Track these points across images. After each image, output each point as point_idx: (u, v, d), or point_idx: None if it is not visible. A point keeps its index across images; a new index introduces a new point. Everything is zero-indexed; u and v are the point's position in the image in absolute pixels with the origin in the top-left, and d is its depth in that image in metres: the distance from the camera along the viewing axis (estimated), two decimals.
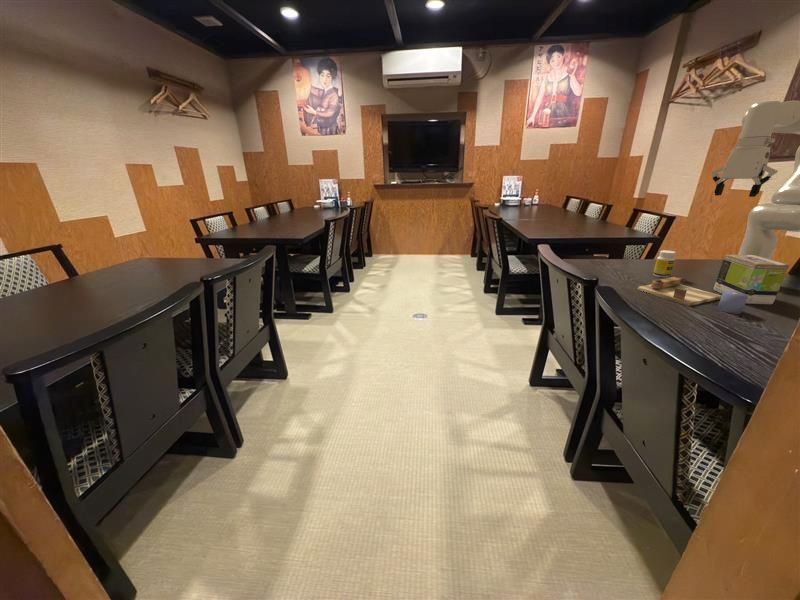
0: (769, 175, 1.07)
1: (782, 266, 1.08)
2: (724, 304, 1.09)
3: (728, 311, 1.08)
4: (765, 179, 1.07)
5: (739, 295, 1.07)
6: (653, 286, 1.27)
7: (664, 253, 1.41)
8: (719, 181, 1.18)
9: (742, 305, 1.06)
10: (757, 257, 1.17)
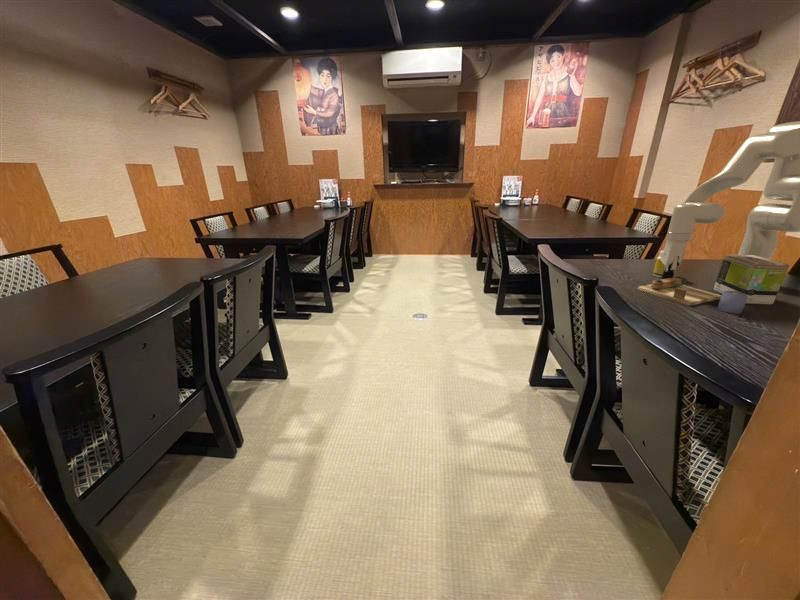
0: None
1: (782, 266, 1.08)
2: (724, 304, 1.09)
3: (728, 311, 1.08)
4: None
5: (739, 295, 1.07)
6: (653, 286, 1.27)
7: None
8: None
9: (742, 305, 1.06)
10: (757, 257, 1.17)
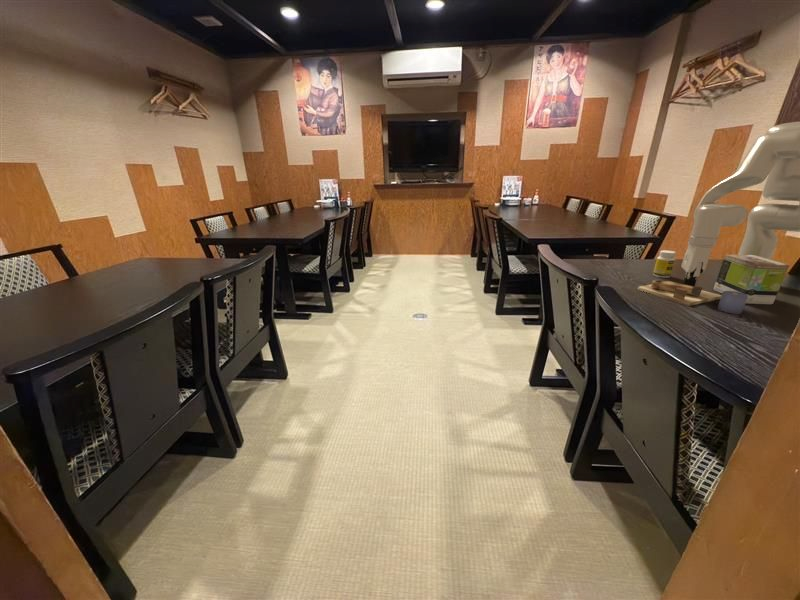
0: None
1: (782, 266, 1.08)
2: (724, 304, 1.09)
3: (728, 311, 1.08)
4: None
5: (739, 295, 1.07)
6: None
7: (664, 253, 1.41)
8: None
9: (742, 305, 1.06)
10: (757, 257, 1.17)
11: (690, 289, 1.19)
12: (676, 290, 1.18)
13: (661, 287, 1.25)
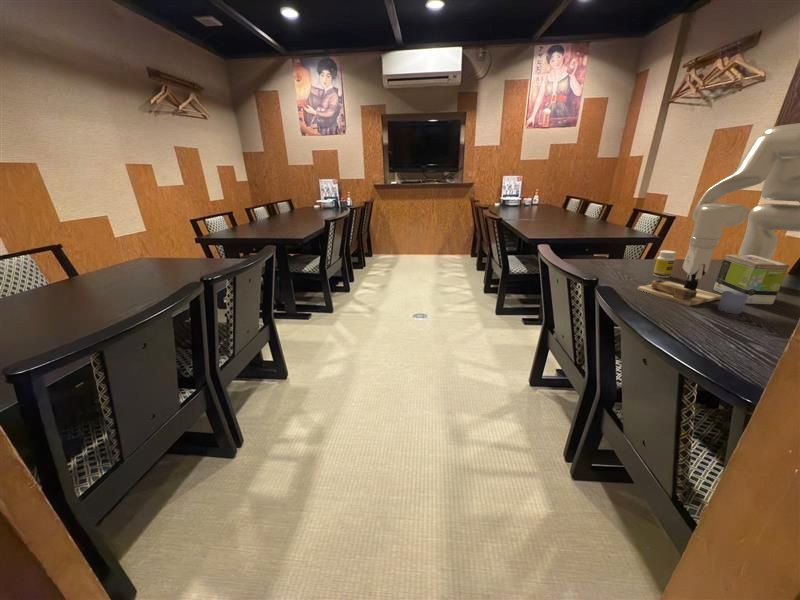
0: None
1: (782, 266, 1.08)
2: (724, 304, 1.09)
3: (728, 311, 1.08)
4: None
5: (739, 295, 1.07)
6: None
7: (664, 253, 1.41)
8: None
9: (742, 305, 1.06)
10: (757, 257, 1.17)
11: None
12: (676, 290, 1.18)
13: (658, 287, 1.26)
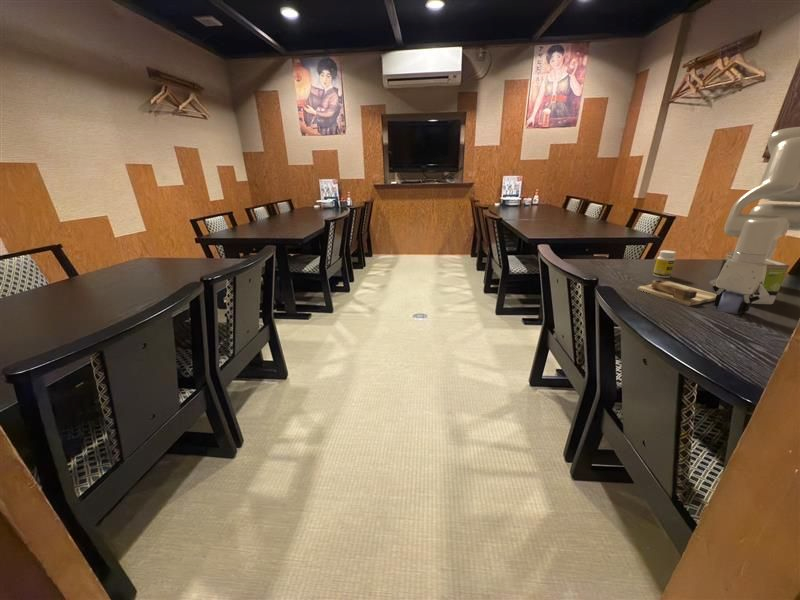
0: None
1: (782, 266, 1.08)
2: (724, 304, 1.09)
3: (728, 311, 1.08)
4: None
5: (739, 295, 1.07)
6: None
7: (664, 253, 1.41)
8: None
9: None
10: None
11: None
12: (676, 290, 1.18)
13: (658, 287, 1.26)
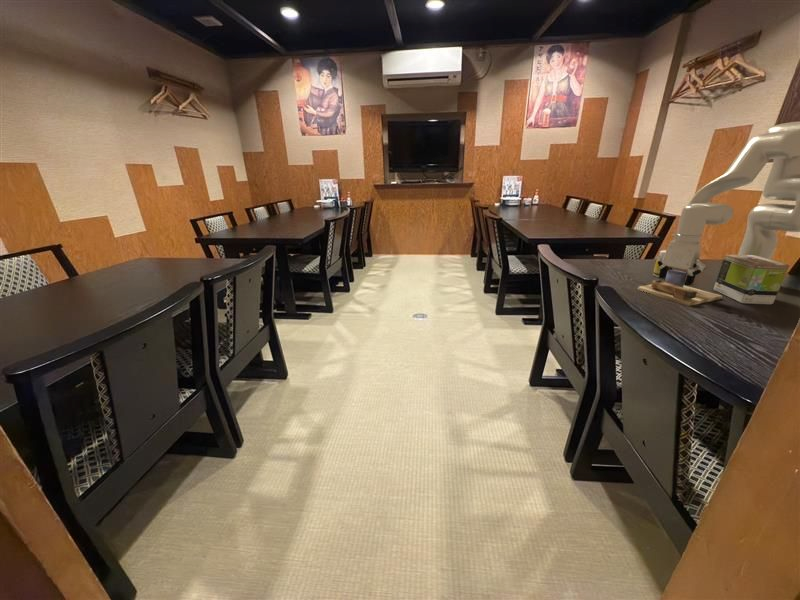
0: None
1: (782, 266, 1.08)
2: (668, 281, 1.28)
3: None
4: None
5: (680, 273, 1.26)
6: None
7: (664, 253, 1.41)
8: None
9: (682, 281, 1.25)
10: (757, 257, 1.17)
11: None
12: (676, 290, 1.18)
13: (658, 287, 1.26)
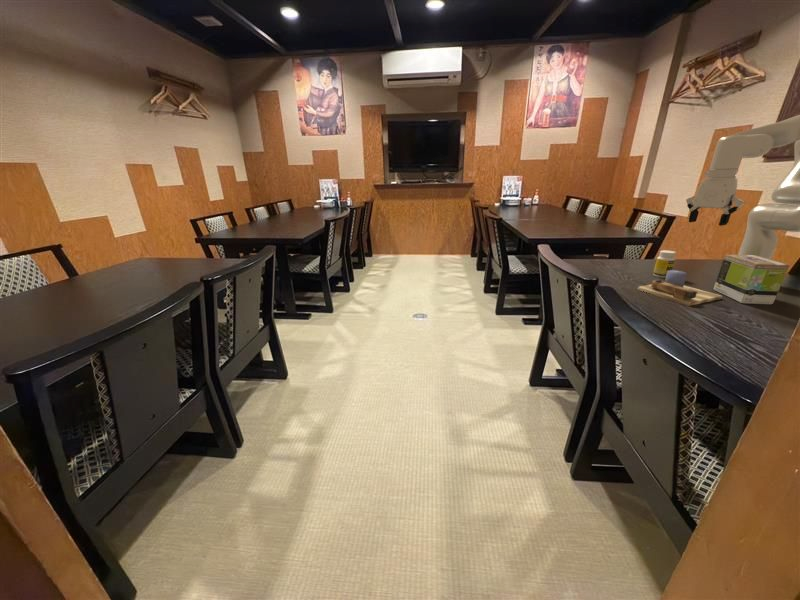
0: None
1: (782, 266, 1.08)
2: (668, 281, 1.28)
3: None
4: None
5: (680, 273, 1.26)
6: None
7: (664, 253, 1.41)
8: None
9: (682, 281, 1.25)
10: (757, 257, 1.17)
11: None
12: (676, 290, 1.18)
13: (658, 287, 1.26)
